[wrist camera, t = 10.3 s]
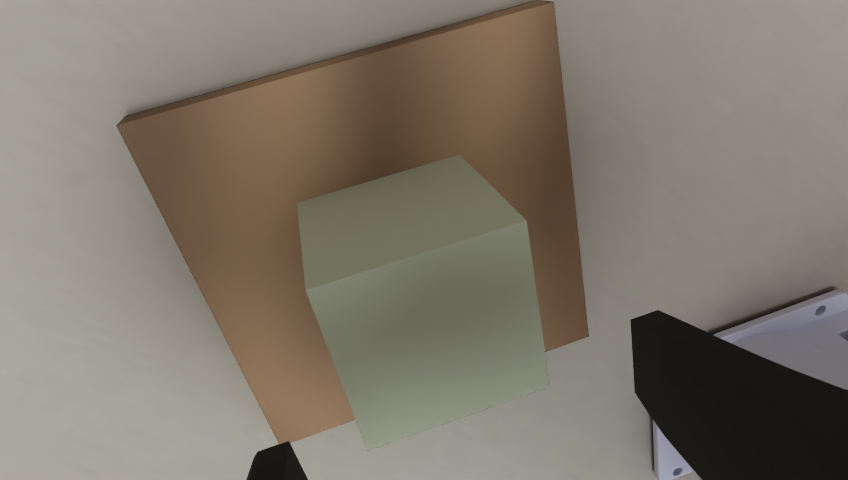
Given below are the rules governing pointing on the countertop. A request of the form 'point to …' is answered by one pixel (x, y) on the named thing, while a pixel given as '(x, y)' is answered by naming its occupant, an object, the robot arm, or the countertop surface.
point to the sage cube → (423, 297)
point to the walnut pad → (358, 182)
